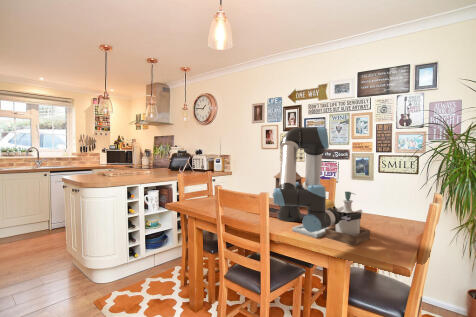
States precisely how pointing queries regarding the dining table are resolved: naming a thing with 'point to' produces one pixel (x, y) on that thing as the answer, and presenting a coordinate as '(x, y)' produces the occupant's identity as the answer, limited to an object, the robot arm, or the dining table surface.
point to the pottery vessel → (298, 179)
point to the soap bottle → (351, 226)
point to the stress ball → (329, 204)
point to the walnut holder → (347, 236)
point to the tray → (303, 231)
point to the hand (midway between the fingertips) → (352, 210)
